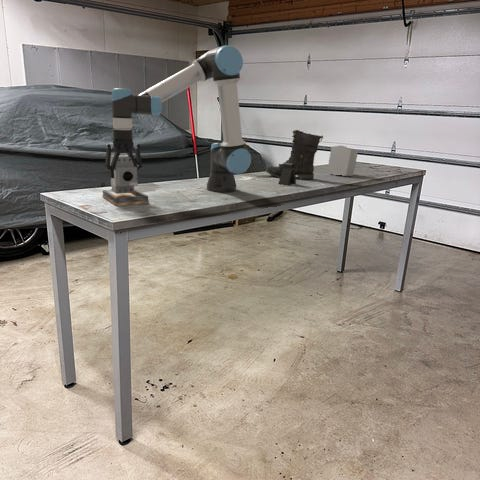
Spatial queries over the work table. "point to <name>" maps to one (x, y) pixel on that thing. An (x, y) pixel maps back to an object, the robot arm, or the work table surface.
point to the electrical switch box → (342, 161)
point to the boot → (300, 155)
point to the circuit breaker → (124, 175)
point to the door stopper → (287, 174)
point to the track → (125, 198)
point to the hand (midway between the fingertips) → (124, 185)
